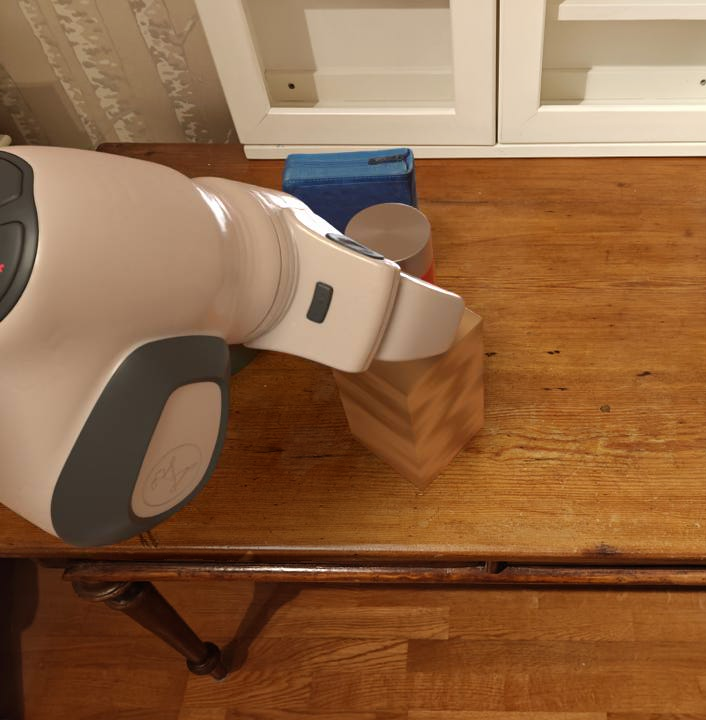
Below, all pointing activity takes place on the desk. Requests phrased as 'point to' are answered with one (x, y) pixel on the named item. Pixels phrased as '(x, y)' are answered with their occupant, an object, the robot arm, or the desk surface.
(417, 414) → the block
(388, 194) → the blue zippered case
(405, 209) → the can
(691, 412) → the desk surface
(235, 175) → the desk surface
